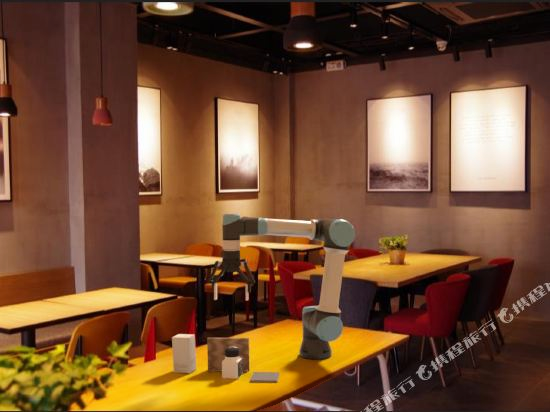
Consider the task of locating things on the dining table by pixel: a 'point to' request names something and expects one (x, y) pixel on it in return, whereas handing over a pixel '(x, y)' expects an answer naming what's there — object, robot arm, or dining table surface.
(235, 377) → the medicine bottle
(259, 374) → the coaster
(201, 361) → the dining table surface
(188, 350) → the skincare box
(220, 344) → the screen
